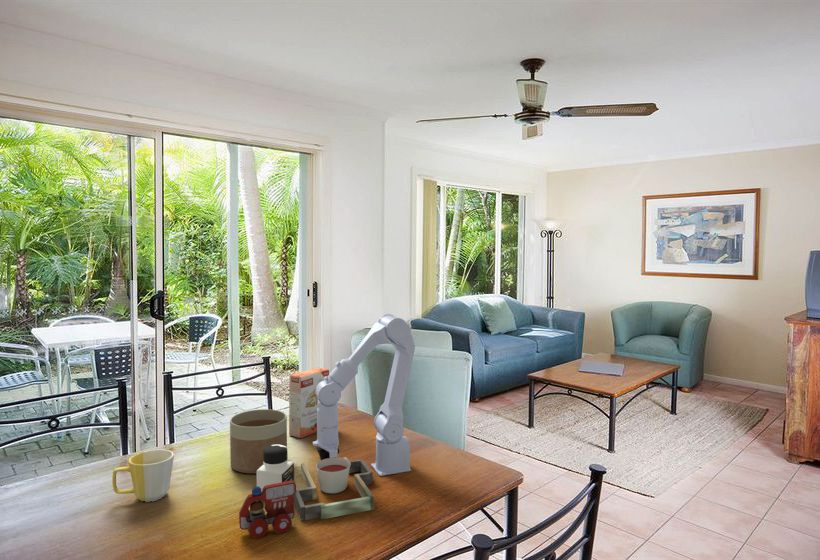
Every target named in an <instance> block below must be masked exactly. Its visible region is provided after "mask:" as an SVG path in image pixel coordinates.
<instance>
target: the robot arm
mask: <svg viewBox="0 0 820 560" xmlns="http://www.w3.org/2000/svg"><path fill="white" fill-rule="evenodd" d="M388 343H390V344H392V345H391V346H393V347H394V349H395V350H394V351H395V352H394V356H393V357H394V358H393V361H392V366H391V370H390V374H389V379H388V383H387V386H386V388H387V389H386V393H385V396H384V397H385V398H384V402H383V403H382V404H381V405H380V406H379V411H378V412H377V414H376V415H375V417H374V420H373V426H374V428H375V430H376V431H377V432H376V436H375V462H373V463H371V464H370V466H371V467H372V469H373V470H374V471H375V472H376V473H377V474H378V476H379V477H382V476H383V477H384V476H388V475H394V474H400V473H406V472H407V473H408V472H411V471H412V469H411V446H410V441H409V439H408V437H407V436H406V435H404V434H405V433H404V432H405V428H404V412H403V405H404V400H405V395H406V391H407V386H408V382H409V376H410V373H411V367H412V364H413V363H412V362H413V358H414V353H415V349H416V345H415V342H414V338H413V334H412V328H411V326H410V325H409V324H408V323H407V322H406V320H404V319H403V318H400V317H397V316H395V315H393V314H389V313H388V314H383V315H381V316H380V318H379V319H378V320H377V321H376V322H375V323H374V324H373V326H371V329H369V331H368V333H367V334H365V336H364V338H363V339H362V340H361V342H359V345H357V347H356V348H355V350H353V352H352V354H350V356H349V357H347V358H342V359H341V360H340V361H339V360H338V361H336V362H335V364H334V365H335V367H333V370H332V371H330V372H329V375H328V377H327V376H325V378H324V381H321V382H320V383H319V384H318V385H317V387H316V390H315V394H316V396H317V398H318V403H317V406H318V408H317V432H316V440H315V441H312V446H314V447H316V448H315V449H316V451H317V453H318V455H319V459H320V461H321V460H323V459H327V458H339V456H338V455H339V454H340V449H339V448H338V447H339V443H340V439H339V407H338V406H339V403H338V402H339V401H340V400H341V397H342V392H343V391H344V390H345V389H346V388H347V386H348V385H350V383H351V381H353V379H354V378H355V377H356V376H357V375H358V373H359V365H360V364H361V363H363V361H364V360H365V359H366V358H367V357H368V356H369V355H370V354H371V353H372V352H373V351H374V349H376V347H377V346H379V345H385V344H388Z"/></svg>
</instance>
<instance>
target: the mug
mask: <svg viewBox="0 0 820 560" xmlns="http://www.w3.org/2000/svg"><path fill="white" fill-rule="evenodd" d="M174 455H175V453H174V452H173V451H172V450H169V449H163V448H161V449H160V448H159V449H158V448H157V449H150V450H145V451H141V452H139V453H136V454H134V455H132V456H131V457H129V459H128V461H127V462H128V466H121V467H120V466H119V467H116V468H114V469H113V472H112V476H111V477H112V479H111V480H112V488H113V491H114V493H115V494H116V495H117V494H118V495H125V494H134V495H135V497H136V499H138V500H139V501H140V502H143V501H145V502H144V503H151V502H150V501H152V502H155V501H159V500H160V499H162V497H165V495H167V493H168V492H169V490H170V485H171V478H172V472H173V465H174V464H173V463H174V458H175V457H174ZM123 471H124V472H128V473H130V476H131V482H132V486H133V488H132V487H131V488H128V489H119V488H118V486H117V473H118V472H123ZM158 499H159V500H158Z"/></svg>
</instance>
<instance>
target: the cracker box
mask: <svg viewBox="0 0 820 560" xmlns="http://www.w3.org/2000/svg"><path fill="white" fill-rule="evenodd" d="M329 374H330V369H329V368H328V369H327V368H322V367H315V368H311V369H307V370H303V371H299V372H296V373H291V374H289V382H288V383H289V388H288V392H289V395H288V396H289V399H288V403H289V404H288V406H289V407H288V409H289V411H288V413H289V414H288V418H289V419H288V421H289V422H288V435H289V436H290V437H294V438H296V439H303V438H305V437H308V436H311V435H313V434H316V433H317V408H318V406H317V403H318V398H317V396H316V394H315V390H316V387H317V385H318V384H319V383H320V382H321V381H324V378H325V376H327V377H328V375H329Z"/></svg>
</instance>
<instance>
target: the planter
mask: <svg viewBox="0 0 820 560" xmlns="http://www.w3.org/2000/svg"><path fill="white" fill-rule="evenodd" d="M229 442H230V443H229V445H230V448H229V449H230V450H229V451H230V467H231V469H233V470H234V471H236V472H239V473H243V474H257V470H258V469H259V468H260V467H261V466H262V465H264V464H263V450H264V449H265V448H266V447H268V446H271V445H276V444H278V445H283V446H286V447H287V448H288V419H287V413H286V412H284V411H281V410H278V409H271V408H270V409H266V408H264V409H253V410H252V409H251V410H247V411H243V412H240V413H239V412H238V413H236V414H235V415H233V416H232V417H231V418H230V420H229Z"/></svg>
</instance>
